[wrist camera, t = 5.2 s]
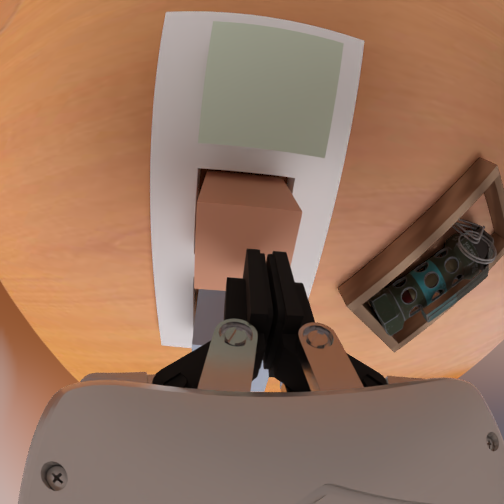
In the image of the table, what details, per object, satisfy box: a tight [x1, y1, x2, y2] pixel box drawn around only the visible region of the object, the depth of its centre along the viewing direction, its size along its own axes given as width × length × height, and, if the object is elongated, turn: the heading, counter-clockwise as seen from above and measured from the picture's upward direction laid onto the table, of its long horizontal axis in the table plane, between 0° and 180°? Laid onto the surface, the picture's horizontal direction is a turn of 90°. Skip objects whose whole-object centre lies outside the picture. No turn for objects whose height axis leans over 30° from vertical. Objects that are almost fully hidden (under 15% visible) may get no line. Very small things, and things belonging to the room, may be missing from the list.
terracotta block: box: [194, 171, 302, 291], centre depth 17 cm, size 5×5×6 cm
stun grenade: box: [369, 218, 497, 336], centre depth 21 cm, size 6×6×14 cm
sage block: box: [198, 21, 344, 158], centre depth 12 cm, size 5×5×6 cm
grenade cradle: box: [338, 157, 504, 352], centre depth 22 cm, size 19×11×2 cm, turn 134°
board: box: [150, 11, 364, 348], centre depth 19 cm, size 26×12×2 cm, turn 171°
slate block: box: [192, 289, 269, 392], centre depth 20 cm, size 5×5×6 cm
